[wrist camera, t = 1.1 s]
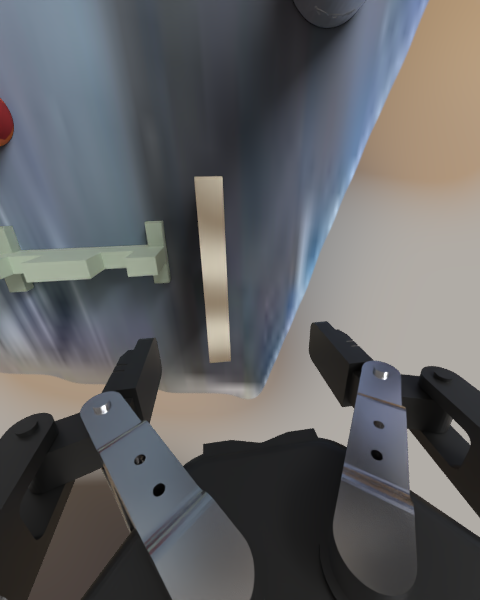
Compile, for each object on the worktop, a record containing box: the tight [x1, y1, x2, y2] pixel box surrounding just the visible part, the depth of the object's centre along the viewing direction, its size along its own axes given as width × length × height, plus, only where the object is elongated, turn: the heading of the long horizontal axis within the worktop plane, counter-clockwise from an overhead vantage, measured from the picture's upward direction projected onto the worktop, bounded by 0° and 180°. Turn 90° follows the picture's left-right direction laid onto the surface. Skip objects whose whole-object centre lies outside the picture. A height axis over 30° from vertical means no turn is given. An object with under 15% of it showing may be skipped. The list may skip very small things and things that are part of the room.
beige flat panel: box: [194, 176, 231, 363], centre depth 28 cm, size 16×2×15 cm, turn 2°
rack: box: [0, 221, 171, 292], centre depth 29 cm, size 8×20×8 cm, turn 91°
